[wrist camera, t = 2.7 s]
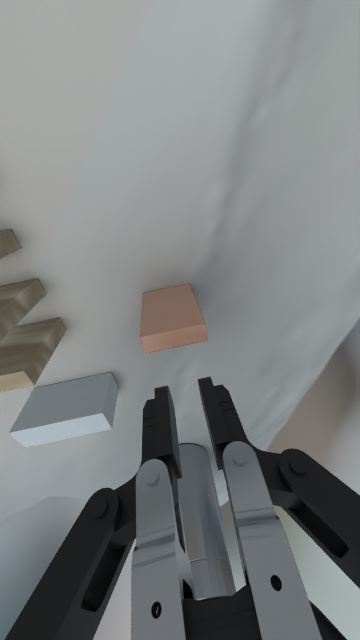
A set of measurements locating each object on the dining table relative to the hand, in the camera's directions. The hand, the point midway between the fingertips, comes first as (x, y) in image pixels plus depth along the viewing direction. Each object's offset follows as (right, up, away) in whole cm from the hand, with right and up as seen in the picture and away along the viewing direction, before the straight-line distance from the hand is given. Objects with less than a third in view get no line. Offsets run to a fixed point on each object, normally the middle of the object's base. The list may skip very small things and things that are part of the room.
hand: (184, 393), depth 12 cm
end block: (-14, -5, +17) cm, 22 cm away
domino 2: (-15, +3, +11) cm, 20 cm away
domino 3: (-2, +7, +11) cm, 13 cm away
